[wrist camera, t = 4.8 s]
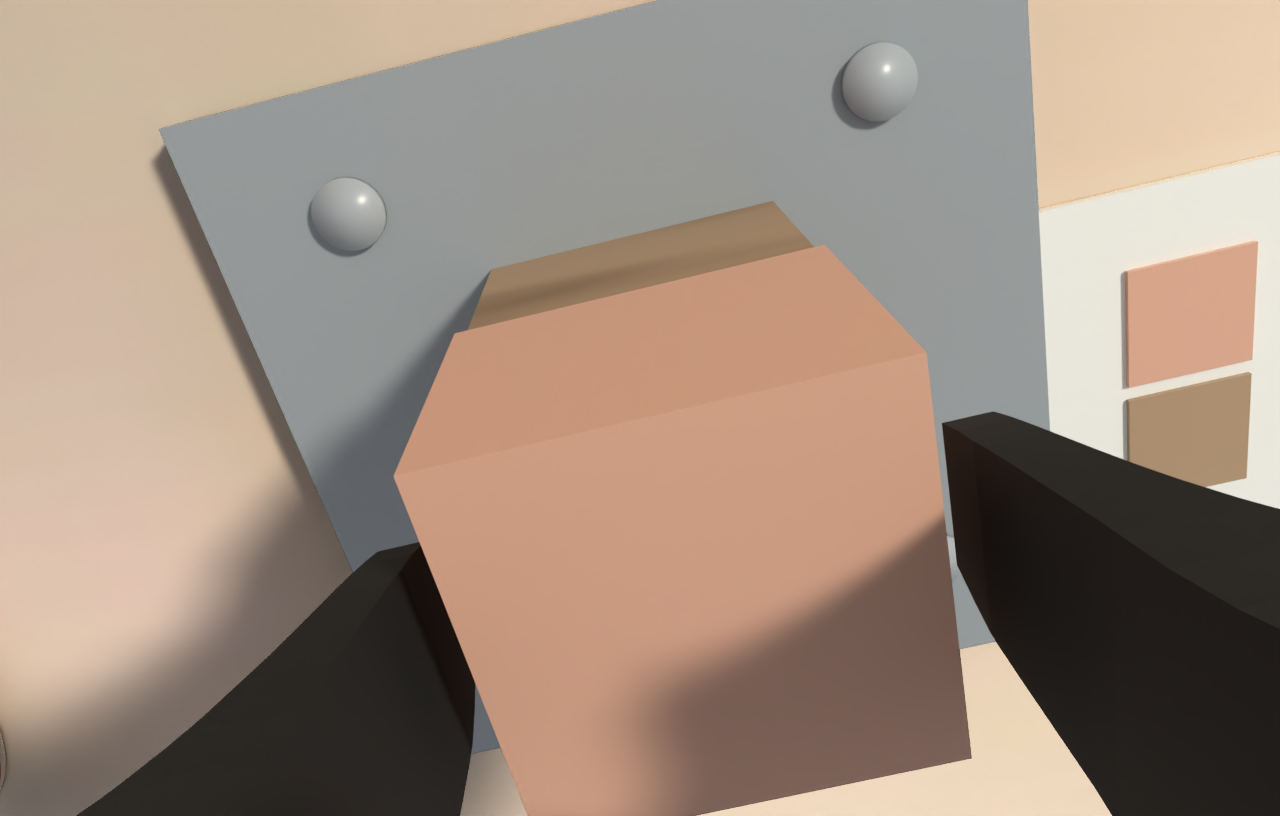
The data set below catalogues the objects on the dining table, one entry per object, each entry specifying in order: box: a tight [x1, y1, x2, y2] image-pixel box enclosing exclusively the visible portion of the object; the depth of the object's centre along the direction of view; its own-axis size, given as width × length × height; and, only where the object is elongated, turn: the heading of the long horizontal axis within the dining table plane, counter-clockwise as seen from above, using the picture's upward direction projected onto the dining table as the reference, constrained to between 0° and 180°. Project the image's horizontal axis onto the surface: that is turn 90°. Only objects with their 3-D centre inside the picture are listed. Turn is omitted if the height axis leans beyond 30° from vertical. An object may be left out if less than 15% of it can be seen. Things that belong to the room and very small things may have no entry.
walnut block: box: [468, 201, 814, 330], centre depth 15 cm, size 5×5×4 cm
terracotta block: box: [394, 245, 972, 816], centre depth 11 cm, size 5×5×4 cm
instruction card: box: [1039, 151, 1280, 509], centre depth 18 cm, size 8×6×1 cm
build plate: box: [159, 0, 1050, 754], centre depth 17 cm, size 14×14×1 cm
